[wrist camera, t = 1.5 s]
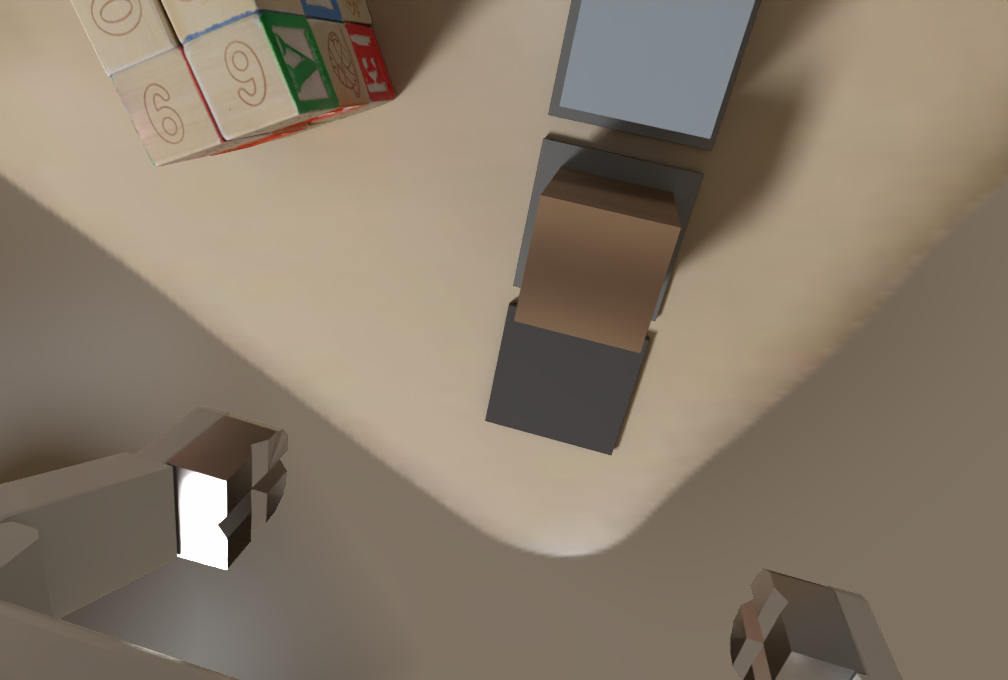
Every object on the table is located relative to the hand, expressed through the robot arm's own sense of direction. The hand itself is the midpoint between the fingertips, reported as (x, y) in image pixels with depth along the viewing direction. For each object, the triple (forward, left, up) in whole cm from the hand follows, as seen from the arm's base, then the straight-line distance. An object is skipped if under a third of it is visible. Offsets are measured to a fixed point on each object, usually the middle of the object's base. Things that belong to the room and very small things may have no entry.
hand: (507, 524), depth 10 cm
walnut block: (0, 0, -20) cm, 20 cm away
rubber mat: (+8, 0, -20) cm, 22 cm away
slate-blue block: (-8, 0, -20) cm, 21 cm away
